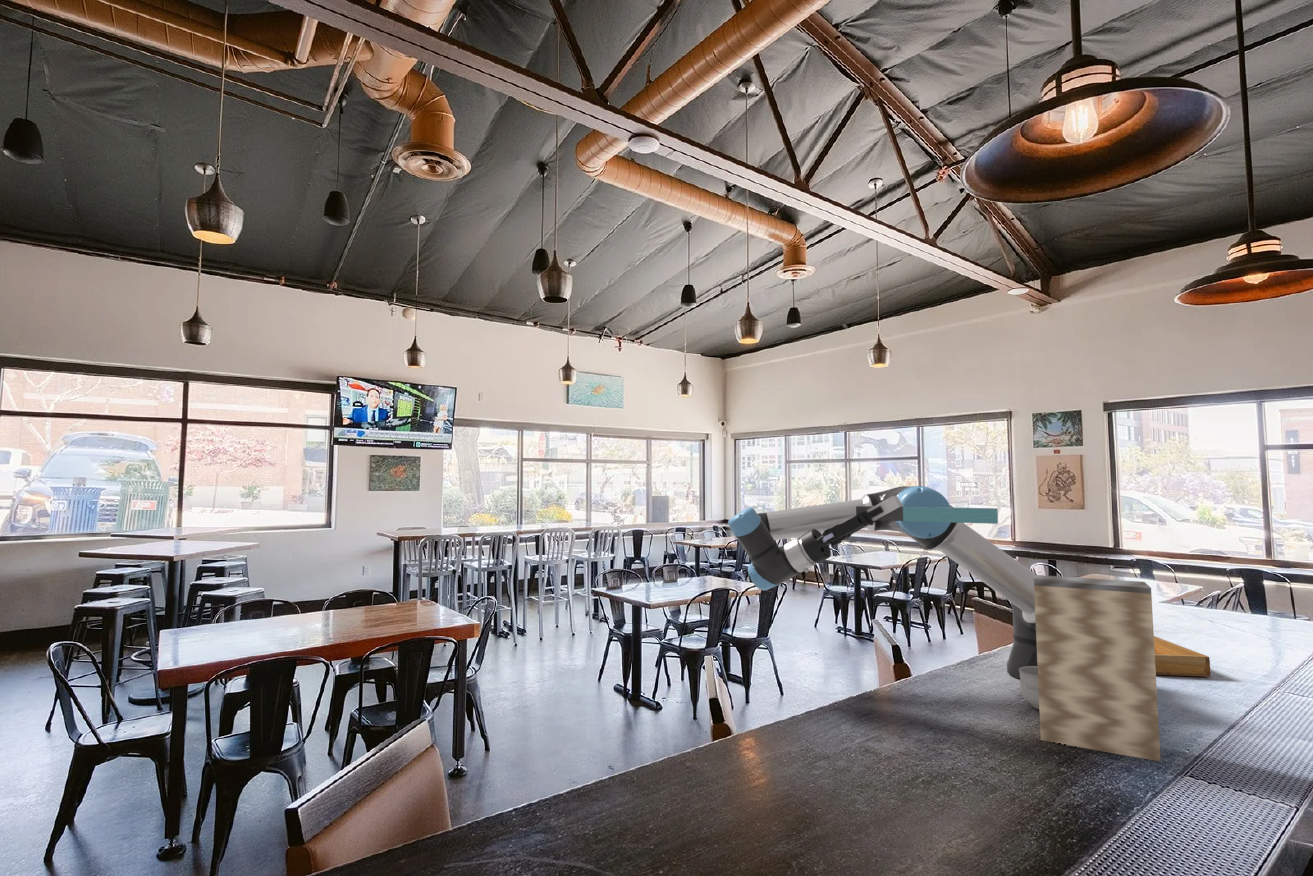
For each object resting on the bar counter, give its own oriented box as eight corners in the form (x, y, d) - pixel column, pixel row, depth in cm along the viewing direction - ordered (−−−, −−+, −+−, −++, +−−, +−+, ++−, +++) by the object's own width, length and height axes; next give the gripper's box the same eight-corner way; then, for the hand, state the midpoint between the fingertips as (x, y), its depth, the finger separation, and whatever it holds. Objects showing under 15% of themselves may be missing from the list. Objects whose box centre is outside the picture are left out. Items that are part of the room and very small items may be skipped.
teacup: (1021, 711, 136) (1019, 673, 136) (1019, 696, 145) (1017, 660, 146) (1099, 723, 129) (1098, 683, 130) (1092, 706, 139) (1090, 669, 139)
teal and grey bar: (856, 519, 143) (855, 506, 143) (859, 519, 146) (859, 505, 146) (997, 523, 129) (996, 508, 129) (998, 522, 131) (997, 508, 131)
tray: (1083, 646, 191) (1082, 627, 191) (1139, 648, 188) (1138, 628, 189) (1143, 677, 161) (1142, 654, 161) (1211, 680, 158) (1209, 657, 159)
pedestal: (1040, 740, 121) (1033, 580, 123) (1040, 726, 128) (1034, 574, 130) (1160, 761, 111) (1151, 588, 114) (1153, 745, 118) (1144, 581, 120)
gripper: (826, 560, 155) (913, 514, 146) (805, 568, 142) (900, 518, 132) (810, 533, 158) (895, 486, 148) (789, 538, 144) (881, 486, 134)
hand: (897, 501), depth 140 cm, fingers closed on teal and grey bar, 3 cm apart
